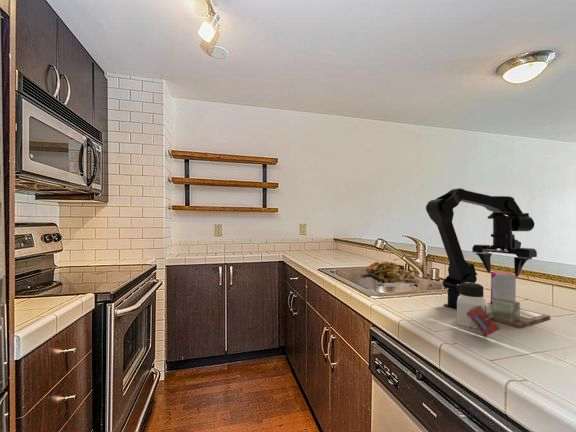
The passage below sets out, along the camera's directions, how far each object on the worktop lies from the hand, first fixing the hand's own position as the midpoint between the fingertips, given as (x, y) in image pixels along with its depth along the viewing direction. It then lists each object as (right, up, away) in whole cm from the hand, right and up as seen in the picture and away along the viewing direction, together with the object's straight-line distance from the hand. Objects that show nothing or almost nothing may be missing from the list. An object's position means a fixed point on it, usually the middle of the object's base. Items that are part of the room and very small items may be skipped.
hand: (502, 274), depth 108 cm
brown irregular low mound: (-25, -12, +45) cm, 53 cm away
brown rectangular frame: (-6, -11, -14) cm, 19 cm away
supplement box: (0, -11, 0) cm, 11 cm away
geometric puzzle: (-25, -11, -29) cm, 40 cm away
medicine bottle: (-23, -11, -20) cm, 32 cm away
